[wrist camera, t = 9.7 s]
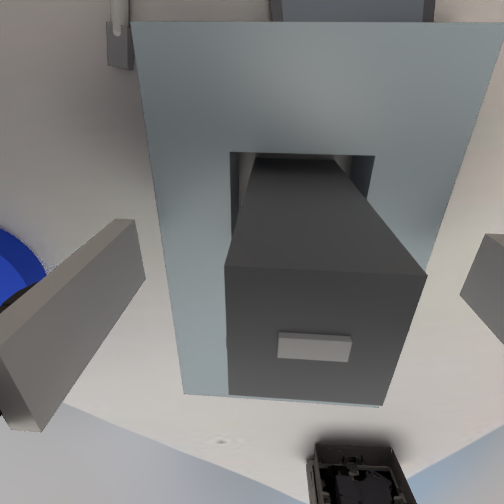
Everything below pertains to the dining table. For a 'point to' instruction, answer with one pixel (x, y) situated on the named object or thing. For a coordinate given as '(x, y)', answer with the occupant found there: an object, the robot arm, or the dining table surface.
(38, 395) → the robot arm
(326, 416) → the dining table surface
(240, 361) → the plug
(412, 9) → the phone
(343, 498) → the electrical switch
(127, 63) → the usb cable
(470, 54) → the plate
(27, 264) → the bracket
